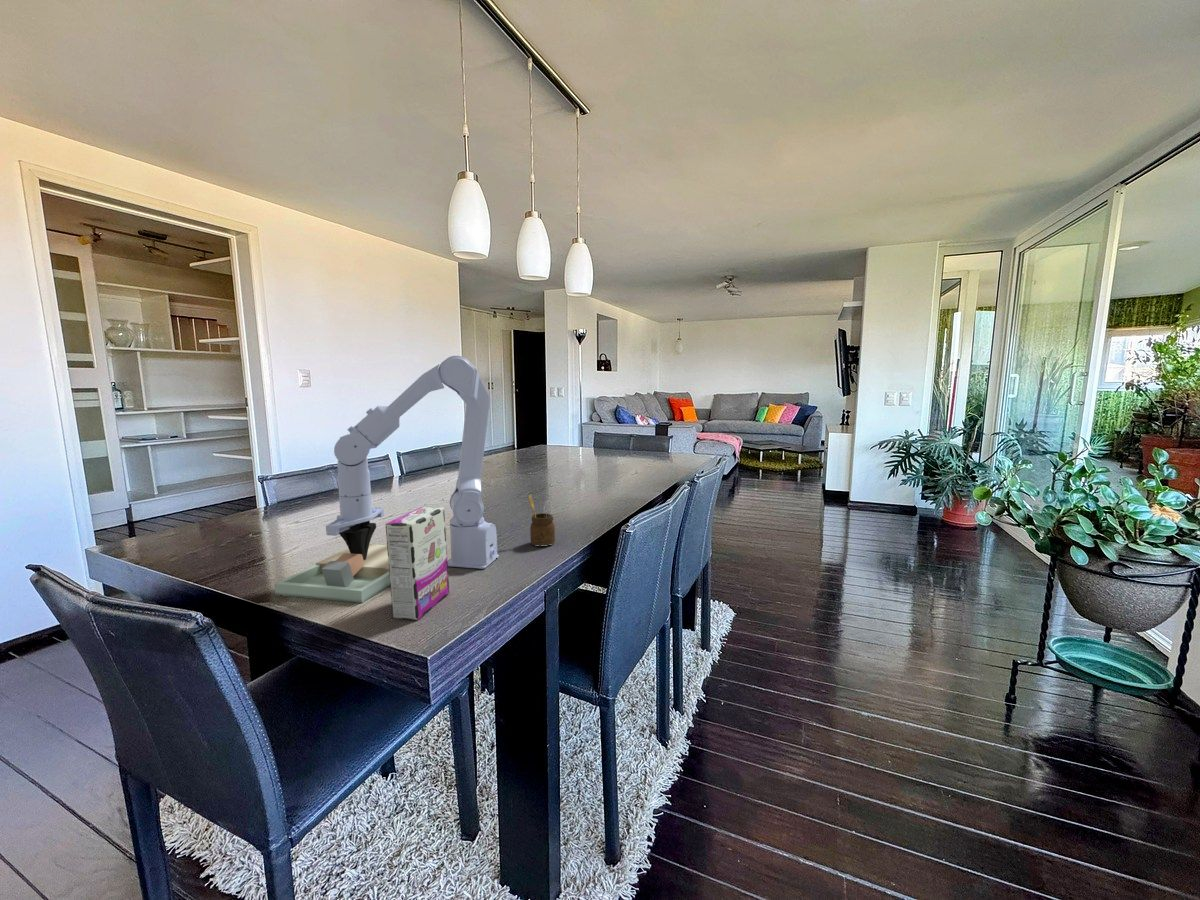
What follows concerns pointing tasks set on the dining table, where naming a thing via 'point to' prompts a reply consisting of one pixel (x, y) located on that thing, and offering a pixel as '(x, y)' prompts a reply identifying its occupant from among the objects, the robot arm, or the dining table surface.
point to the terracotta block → (352, 561)
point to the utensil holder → (542, 527)
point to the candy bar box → (417, 562)
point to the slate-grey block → (337, 574)
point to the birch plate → (367, 561)
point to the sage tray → (315, 586)
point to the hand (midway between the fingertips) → (359, 560)
